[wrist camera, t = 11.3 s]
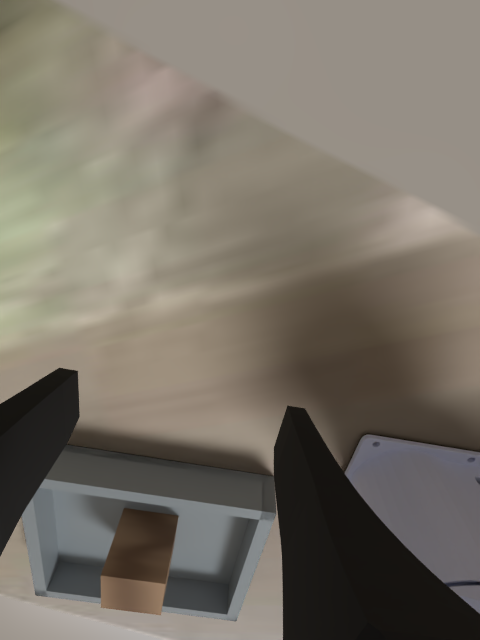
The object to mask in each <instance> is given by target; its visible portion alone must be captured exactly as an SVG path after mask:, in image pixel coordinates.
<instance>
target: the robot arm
mask: <svg viewBox="0 0 480 640" xmlns="http://www.w3.org/2000/svg"><path fill="white" fill-rule="evenodd" d="M79 417H80V416H79V391H78V371H75V370H69V369H63V368H58V369H57V370H55V371H53V372H52V373H50V374H48V375H47V376H45V377H44V378H42V379H40V380H39V381H37V382H36V383H34V384H33V385H31V386H29V387H28V388H26V389H24V390H23V391H21V392H20V393H18V394H16V395H15V396H13V397H11V398H10V399H8V400H6V401H5V402H3V403H1V404H0V556H1V554H2V552H3V550H4V548H5V546H6V544H7V542H8V540H9V538H10V536H11V534H12V532H13V531H14V529H15V527H16V525H17V523H18V521H19V519H20V518H21V516H22V514H23V512H24V511H25V509H26V507H27V506H28V504H29V503H30V501H31V499H32V498H33V496H34V495H35V493H36V492H37V490H38V488H39V487H40V485H41V484H42V482H43V481H44V479H45V478H46V476H47V474H48V473H49V471H50V470H51V468H52V467H53V465H54V463H55V462H56V460H57V459H58V457H59V455H60V454H61V452H62V451H63V449H64V447H65V446H66V444H67V442H68V440H69V438H70V436H71V434H72V432H73V430H74V428H75V425H76V423H77V421H78V419H79ZM374 442H376V443H374ZM274 482H275V492H276V501H277V510H278V519H279V528H280V537H281V548H282V571H283V640H480V452H474V451H468V450H462V449H456V448H450V447H443V446H437V445H431V444H425V443H419V442H413V441H407V440H401V439H394V438H388V437H382V436H376V435H364V436H363V437H362V438H361V440H360V442H359V444H358V446H357V448H356V450H355V452H354V454H353V457H352V459H351V461H350V463H349V465H348V467H347V469H346V471H345V473H344V472H343V471H342V469H341V468H340V466H339V465H338V463H337V462H336V460H335V458H334V457H333V455H332V454H331V452H330V451H329V449H328V447H327V446H326V444H325V442H324V441H323V439H322V437H321V436H320V434H319V432H318V431H317V429H316V427H315V425H314V424H313V422H312V420H311V418H310V416H309V415H308V413H307V411H306V410H305V409H304V408H298V407H292V406H287V409H286V412H285V415H284V418H283V421H282V424H281V427H280V431H279V434H278V437H277V440H276V443H275V446H274Z"/></svg>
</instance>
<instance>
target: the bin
mask: <svg viewBox="0 0 480 640" xmlns="http://www.w3.org/2000/svg"><path fill="white" fill-rule="evenodd" d="M124 508H129V509H136V510H143V511H150V512H157V513H164V514H171V515H178V516H179V517H178V524H177V530H176V537H175V543H174V549H173V554H172V559H171V565H170V570H169V575H168V580H167V585H166V591H165V596H164V601H163V606H162V611H161V612H168V613H176V614H184V615H191V616H199V617H207V618H214V619H222V620H230V621H237V618H238V615H239V612H240V610H241V607H242V604H243V602H244V599H245V596H246V594H247V591H248V588H249V586H250V583H251V580H252V577H253V575H254V572H255V569H256V567H257V564H258V561H259V559H260V556H261V553H262V551H263V548H264V545H265V542H266V540H267V537H268V534H269V532H270V529H271V526H272V524H273V521H274V518H275V515H276V500H275V484H274V476H267V475H261V474H254V473H248V472H241V471H235V470H228V469H222V468H215V467H208V466H202V465H195V464H189V463H182V462H176V461H169V460H163V459H156V458H150V457H143V456H137V455H130V454H124V453H117V452H111V451H104V450H98V449H91V448H85V447H78V446H72V445H66V446H65V447H64V449H63V451H62V452H61V454H60V455H59V457H58V459H57V460H56V462H55V463H54V465H53V467H52V468H51V470H50V471H49V473H48V474H47V476H46V478H45V479H44V481H43V482H42V484H41V485H40V487H39V488H38V490H37V492H36V493H35V495H34V496H33V498H32V499H31V501H30V503H29V504H28V506H27V507H26V509H25V511H24V512H23V514H22V520H23V526H24V532H25V538H26V543H27V549H28V555H29V561H30V566H31V572H32V578H33V584H34V589H35V595H37V596H45V597H52V598H60V599H68V600H76V601H83V602H91V603H99V604H101V573H102V570H103V567H104V564H105V562H106V559H107V556H108V553H109V550H110V547H111V544H112V541H113V538H114V536H115V533H116V530H117V527H118V524H119V521H120V518H121V515H122V512H123V510H124Z"/></svg>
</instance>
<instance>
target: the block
mask: <svg viewBox="0 0 480 640" xmlns="http://www.w3.org/2000/svg"><path fill="white" fill-rule="evenodd" d="M178 517H179V516H178V515H171V514H164V513H157V512H150V511H143V510H136V509H129V508H124V510H123V512H122V515H121V518H120V521H119V524H118V527H117V530H116V533H115V536H114V538H113V541H112V544H111V547H110V550H109V553H108V556H107V559H106V562H105V564H104V567H103V570H102V573H101V608H108V609H116V610H124V611H132V612H140V613H148V614H156V615H161V611H162V606H163V601H164V596H165V591H166V585H167V580H168V575H169V570H170V565H171V559H172V554H173V549H174V543H175V537H176V530H177V524H178Z"/></svg>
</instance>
